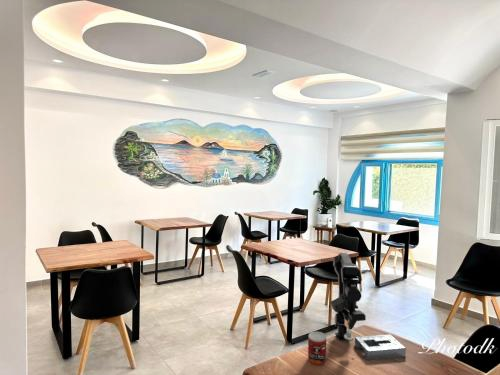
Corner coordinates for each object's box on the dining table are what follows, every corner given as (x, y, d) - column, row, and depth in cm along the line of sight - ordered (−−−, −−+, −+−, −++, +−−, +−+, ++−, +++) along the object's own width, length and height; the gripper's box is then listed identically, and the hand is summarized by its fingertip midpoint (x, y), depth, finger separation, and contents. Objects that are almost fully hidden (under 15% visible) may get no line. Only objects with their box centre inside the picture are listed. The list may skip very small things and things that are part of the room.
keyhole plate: (354, 345, 153) (355, 336, 153) (390, 342, 156) (390, 334, 155) (367, 360, 141) (367, 350, 141) (405, 356, 144) (405, 347, 144)
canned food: (307, 364, 138) (307, 339, 137) (308, 353, 146) (308, 330, 145) (325, 367, 136) (326, 341, 136) (326, 356, 144) (326, 332, 143)
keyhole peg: (342, 336, 147) (343, 318, 147) (351, 335, 148) (351, 317, 148) (346, 340, 143) (347, 322, 143) (355, 340, 144) (355, 321, 144)
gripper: (324, 286, 153) (324, 319, 153) (341, 302, 134) (340, 339, 135) (347, 285, 154) (346, 317, 155) (366, 301, 136) (365, 337, 137)
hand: (349, 327), depth 145 cm, fingers closed on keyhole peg, 3 cm apart
